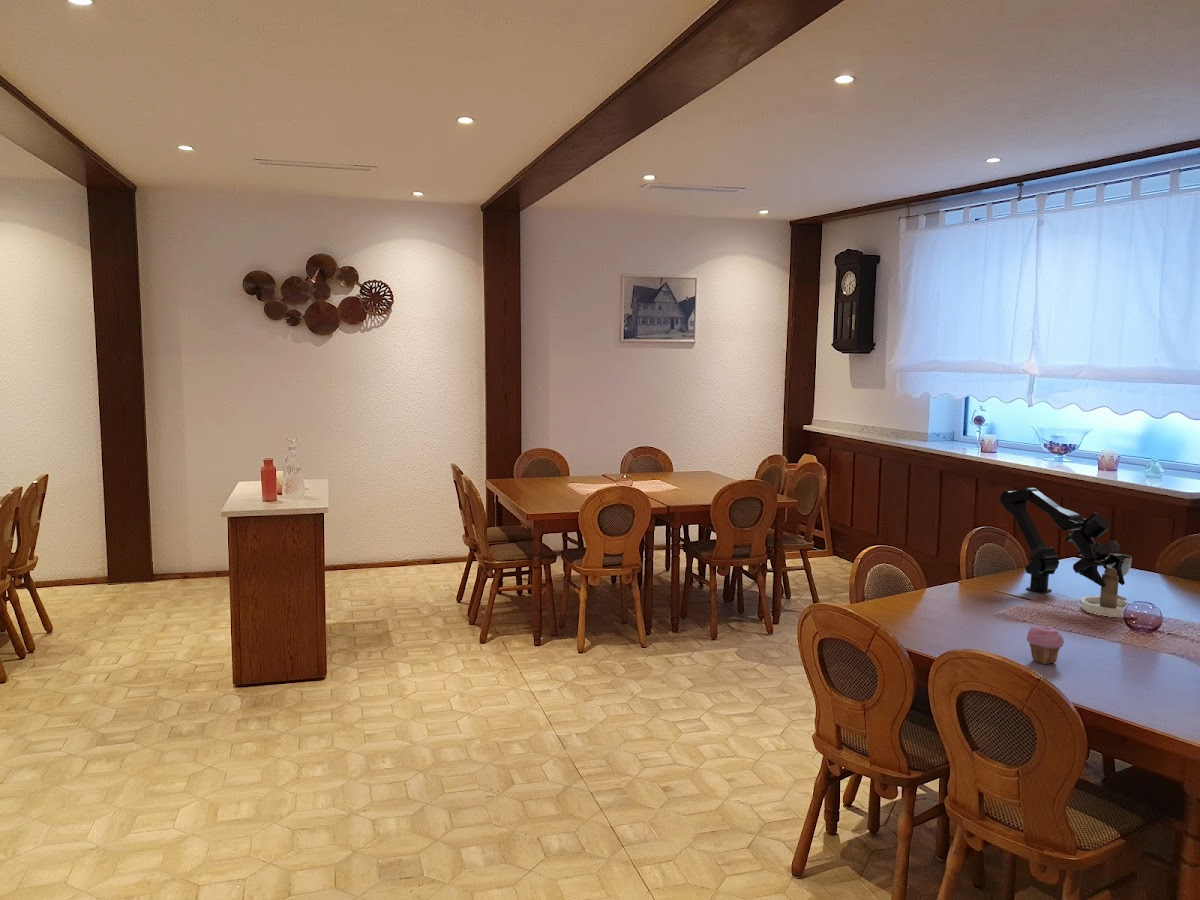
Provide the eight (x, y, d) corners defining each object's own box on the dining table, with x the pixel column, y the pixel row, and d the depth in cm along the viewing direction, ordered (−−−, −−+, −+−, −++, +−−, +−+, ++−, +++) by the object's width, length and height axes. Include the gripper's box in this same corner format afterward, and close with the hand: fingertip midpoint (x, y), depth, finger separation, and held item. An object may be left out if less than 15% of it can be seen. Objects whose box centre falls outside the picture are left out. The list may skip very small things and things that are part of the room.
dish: (1092, 601, 300) (1093, 593, 300) (1144, 613, 288) (1144, 604, 287) (1071, 609, 290) (1072, 601, 290) (1123, 621, 278) (1124, 612, 277)
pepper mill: (1099, 605, 292) (1102, 565, 291) (1116, 607, 290) (1119, 566, 288) (1099, 608, 288) (1102, 567, 287) (1116, 611, 286) (1119, 569, 284)
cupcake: (1045, 669, 232) (1048, 632, 231) (1017, 658, 240) (1020, 623, 239) (1068, 665, 236) (1071, 629, 235) (1041, 654, 244) (1043, 620, 242)
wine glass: (1123, 601, 301) (1127, 559, 299) (1098, 596, 307) (1102, 555, 305) (1131, 598, 306) (1135, 556, 305) (1106, 593, 312) (1110, 552, 310)
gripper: (1083, 534, 286) (1112, 574, 277) (1122, 530, 293) (1151, 570, 284) (1060, 552, 294) (1087, 592, 285) (1099, 548, 301) (1126, 588, 292)
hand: (1113, 585), depth 287 cm, fingers open, 9 cm apart
